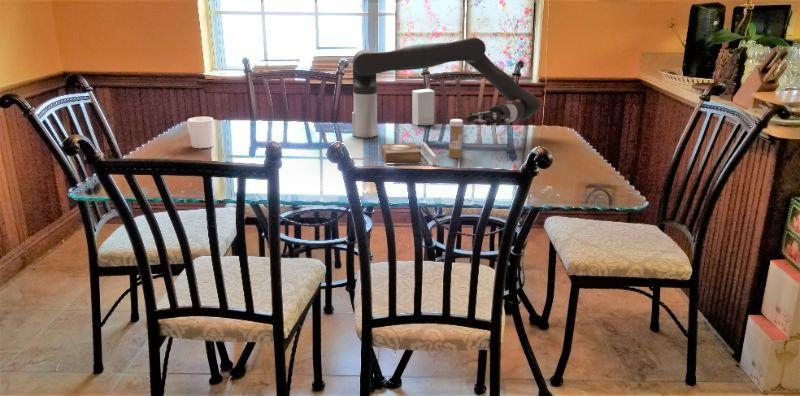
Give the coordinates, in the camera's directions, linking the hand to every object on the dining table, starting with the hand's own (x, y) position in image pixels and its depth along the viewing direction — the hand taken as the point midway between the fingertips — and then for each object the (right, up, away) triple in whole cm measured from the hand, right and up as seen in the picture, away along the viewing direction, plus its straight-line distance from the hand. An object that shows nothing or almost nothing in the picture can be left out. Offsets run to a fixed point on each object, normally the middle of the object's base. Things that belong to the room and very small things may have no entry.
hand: (476, 121), depth 229 cm
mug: (-102, -9, +7) cm, 103 cm away
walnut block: (-28, -14, -7) cm, 32 cm away
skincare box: (-18, +4, +45) cm, 49 cm away
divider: (-18, -14, -6) cm, 23 cm away
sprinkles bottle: (-8, -13, -4) cm, 16 cm away
